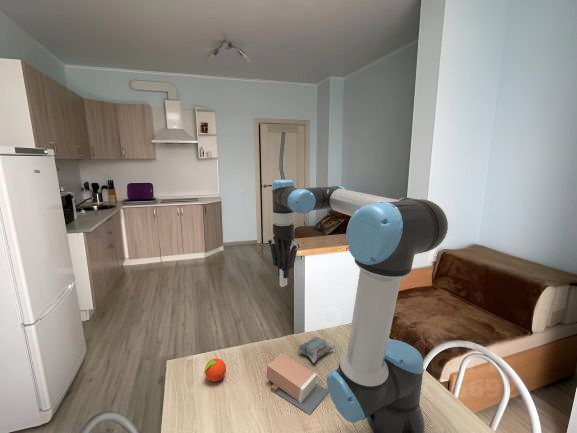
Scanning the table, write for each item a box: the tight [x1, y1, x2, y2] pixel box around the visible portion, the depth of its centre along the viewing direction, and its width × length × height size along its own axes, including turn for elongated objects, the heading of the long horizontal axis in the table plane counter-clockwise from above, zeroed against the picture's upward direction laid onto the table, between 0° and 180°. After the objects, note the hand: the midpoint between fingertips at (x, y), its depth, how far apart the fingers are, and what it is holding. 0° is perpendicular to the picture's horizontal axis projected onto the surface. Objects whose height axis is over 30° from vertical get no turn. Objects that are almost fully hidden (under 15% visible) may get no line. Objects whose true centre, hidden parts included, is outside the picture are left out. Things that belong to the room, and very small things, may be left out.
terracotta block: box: [265, 352, 318, 403], centre depth 95 cm, size 5×8×14 cm
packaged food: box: [297, 336, 336, 364], centre depth 111 cm, size 9×12×5 cm
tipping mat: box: [270, 383, 329, 416], centre depth 94 cm, size 15×11×2 cm
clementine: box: [203, 357, 227, 383], centre depth 98 cm, size 8×7×7 cm
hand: (283, 285), depth 110 cm, fingers closed
